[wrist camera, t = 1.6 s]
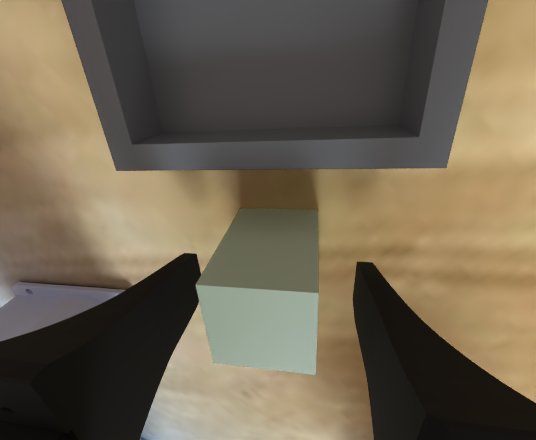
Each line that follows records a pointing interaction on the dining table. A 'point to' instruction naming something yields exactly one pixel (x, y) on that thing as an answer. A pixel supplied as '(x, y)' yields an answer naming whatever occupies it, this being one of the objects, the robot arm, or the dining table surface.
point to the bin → (277, 81)
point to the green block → (264, 291)
